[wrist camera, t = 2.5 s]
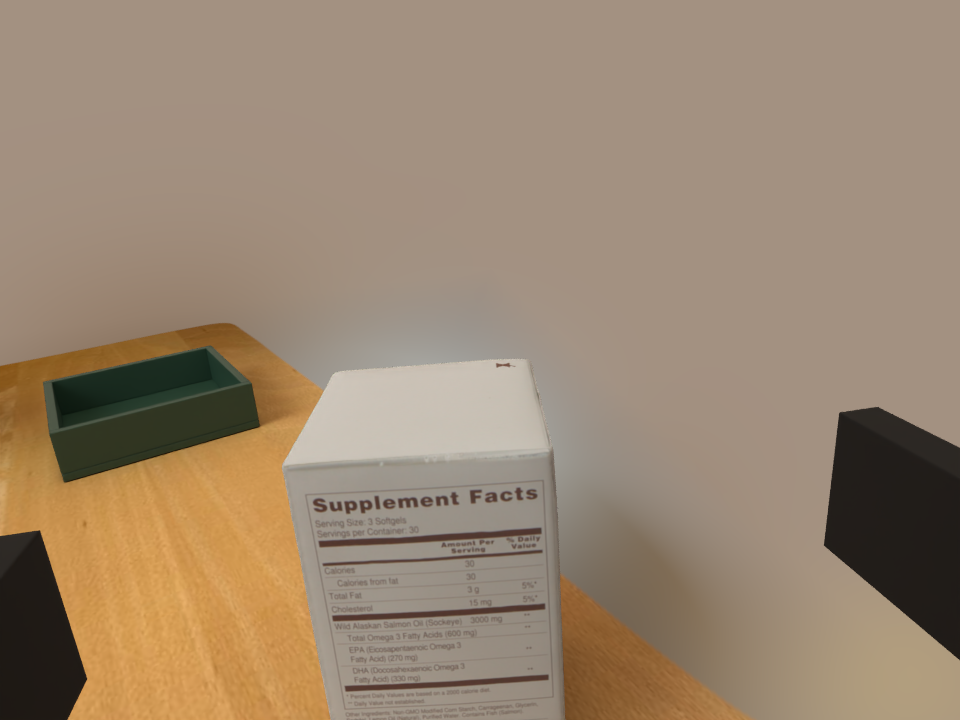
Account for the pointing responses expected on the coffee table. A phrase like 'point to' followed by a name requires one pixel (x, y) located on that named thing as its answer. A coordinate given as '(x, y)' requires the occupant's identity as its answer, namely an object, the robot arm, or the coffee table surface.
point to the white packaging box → (431, 543)
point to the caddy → (145, 410)
